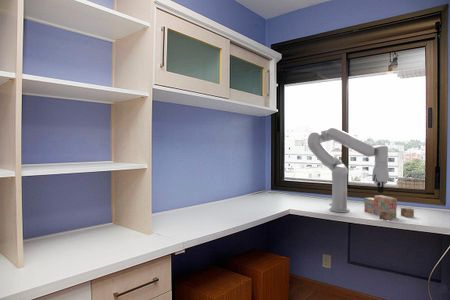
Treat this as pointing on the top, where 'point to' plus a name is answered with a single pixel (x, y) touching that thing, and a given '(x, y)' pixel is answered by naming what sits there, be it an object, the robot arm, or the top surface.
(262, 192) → the top surface
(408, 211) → the marked walnut cube
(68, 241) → the top surface
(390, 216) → the marked walnut cube
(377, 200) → the stack of blocks
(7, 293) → the top surface
